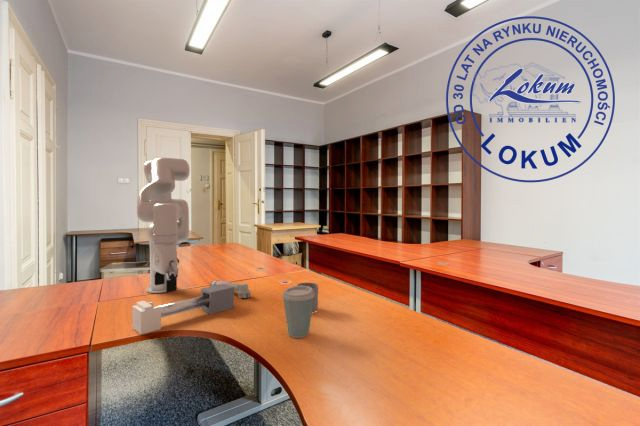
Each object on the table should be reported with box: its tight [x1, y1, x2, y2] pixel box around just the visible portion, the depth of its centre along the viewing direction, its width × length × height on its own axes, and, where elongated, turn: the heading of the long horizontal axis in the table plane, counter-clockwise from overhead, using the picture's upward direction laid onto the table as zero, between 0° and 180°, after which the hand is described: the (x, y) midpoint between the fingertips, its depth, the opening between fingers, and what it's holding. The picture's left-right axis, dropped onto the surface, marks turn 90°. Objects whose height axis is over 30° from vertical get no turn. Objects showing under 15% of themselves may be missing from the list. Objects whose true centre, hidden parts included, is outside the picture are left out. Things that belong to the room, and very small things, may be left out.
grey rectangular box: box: [200, 284, 235, 315], centre depth 125 cm, size 7×10×8 cm
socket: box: [132, 300, 162, 335], centre depth 105 cm, size 8×6×8 cm
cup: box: [296, 282, 319, 312], centre depth 125 cm, size 8×8×10 cm
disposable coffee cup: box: [281, 285, 315, 339], centre depth 103 cm, size 11×11×15 cm
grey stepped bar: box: [209, 280, 252, 299], centre depth 145 cm, size 5×7×25 cm
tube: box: [153, 295, 209, 319], centre depth 113 cm, size 4×22×4 cm, turn 138°
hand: (165, 287), depth 110 cm, fingers open, 9 cm apart
